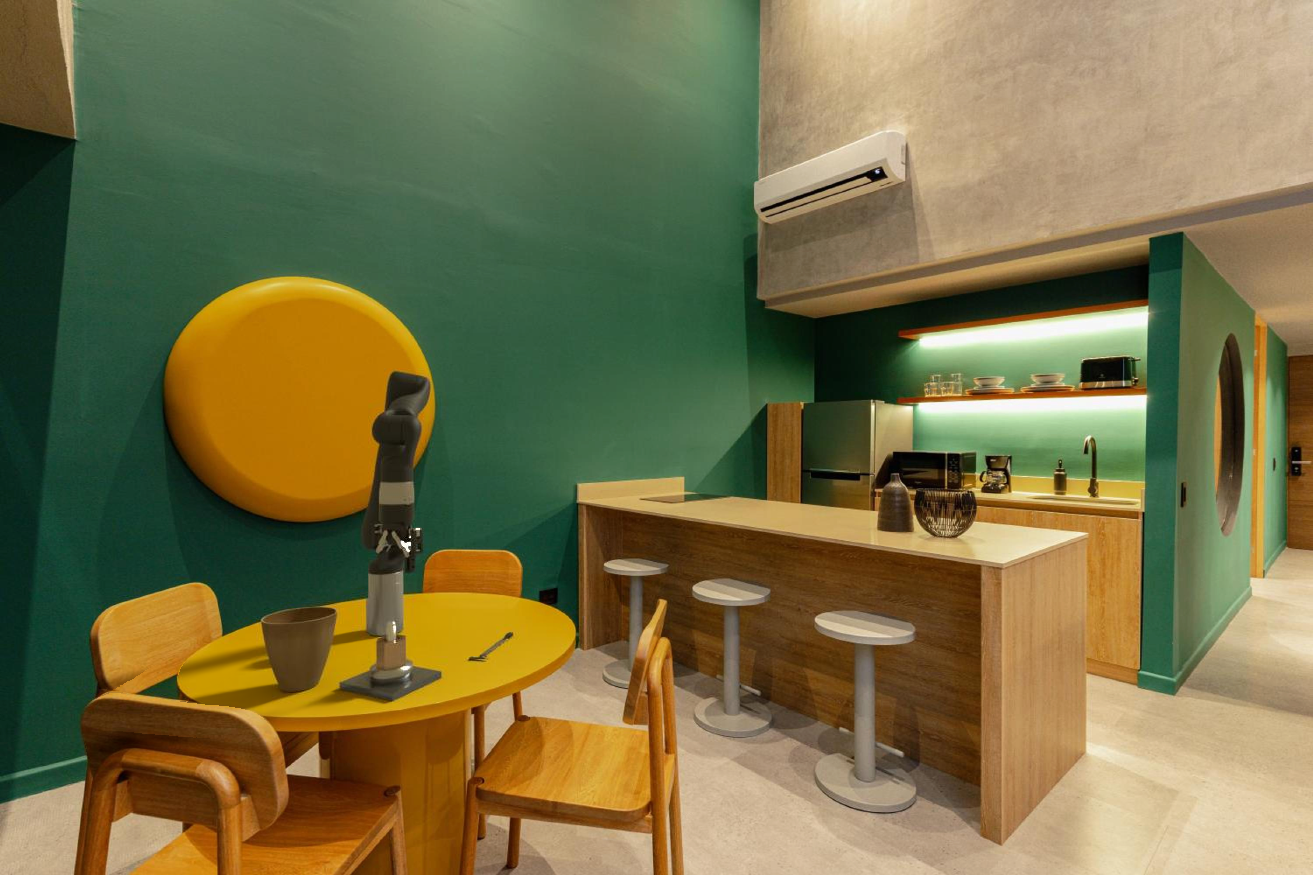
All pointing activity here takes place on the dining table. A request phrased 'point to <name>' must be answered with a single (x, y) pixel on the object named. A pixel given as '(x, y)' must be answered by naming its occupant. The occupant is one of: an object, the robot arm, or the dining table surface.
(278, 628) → the plant pot
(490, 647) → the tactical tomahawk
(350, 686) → the piston base
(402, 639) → the copper ring
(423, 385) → the robot arm
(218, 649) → the dining table surface
